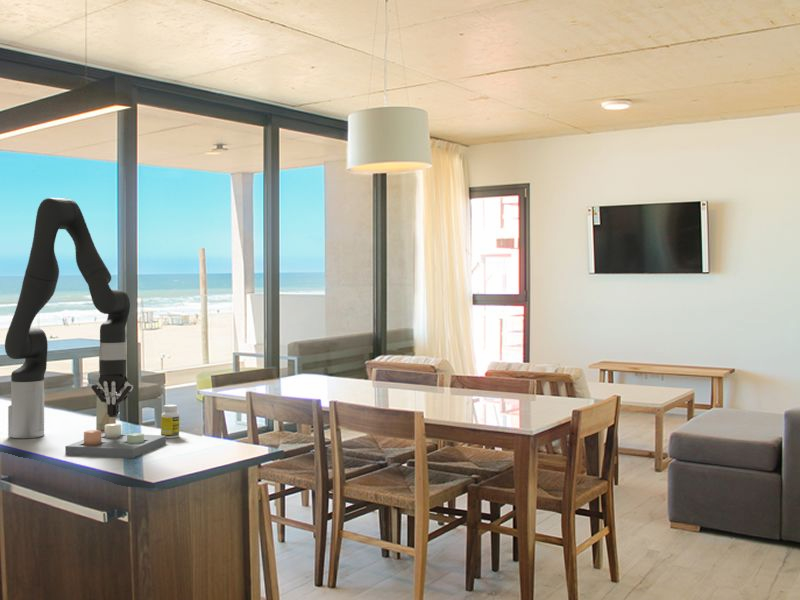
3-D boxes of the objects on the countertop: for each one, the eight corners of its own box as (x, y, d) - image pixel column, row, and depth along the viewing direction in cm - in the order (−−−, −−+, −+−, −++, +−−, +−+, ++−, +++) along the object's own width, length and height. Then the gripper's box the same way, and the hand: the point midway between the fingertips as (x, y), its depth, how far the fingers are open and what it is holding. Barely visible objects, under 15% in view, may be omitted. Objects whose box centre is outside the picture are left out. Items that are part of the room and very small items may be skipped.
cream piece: (101, 439, 235) (101, 426, 234) (109, 436, 239) (109, 423, 239) (116, 440, 234) (116, 426, 234) (124, 437, 238) (124, 423, 238)
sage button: (123, 450, 228) (123, 436, 227) (131, 446, 232) (132, 433, 232) (139, 450, 227) (139, 436, 227) (146, 447, 231) (146, 433, 231)
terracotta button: (80, 447, 224) (80, 432, 224) (89, 443, 228) (89, 429, 228) (95, 447, 223) (95, 433, 223) (104, 444, 227) (104, 430, 227)
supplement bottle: (174, 439, 246) (174, 407, 246) (157, 438, 247) (157, 406, 247) (182, 435, 251) (182, 404, 251) (166, 435, 252) (166, 403, 252)
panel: (65, 454, 222) (65, 446, 222) (103, 440, 242) (103, 432, 242) (132, 458, 219) (132, 449, 219) (166, 443, 239) (166, 435, 238)
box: (108, 430, 258) (108, 396, 258) (95, 430, 259) (95, 396, 259) (116, 428, 263) (116, 394, 263) (104, 427, 264) (104, 393, 264)
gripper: (84, 358, 233) (85, 418, 234) (127, 359, 231) (127, 419, 231) (98, 356, 241) (99, 414, 241) (140, 357, 238) (140, 415, 239)
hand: (113, 416), depth 236 cm, fingers closed
